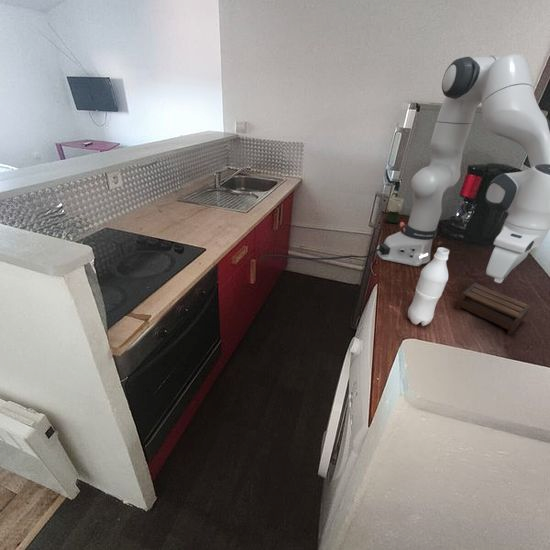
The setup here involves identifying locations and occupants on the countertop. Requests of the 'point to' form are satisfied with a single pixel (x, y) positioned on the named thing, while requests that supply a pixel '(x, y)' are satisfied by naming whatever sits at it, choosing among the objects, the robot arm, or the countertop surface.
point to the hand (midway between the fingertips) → (499, 280)
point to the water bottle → (429, 288)
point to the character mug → (394, 209)
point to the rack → (493, 306)
